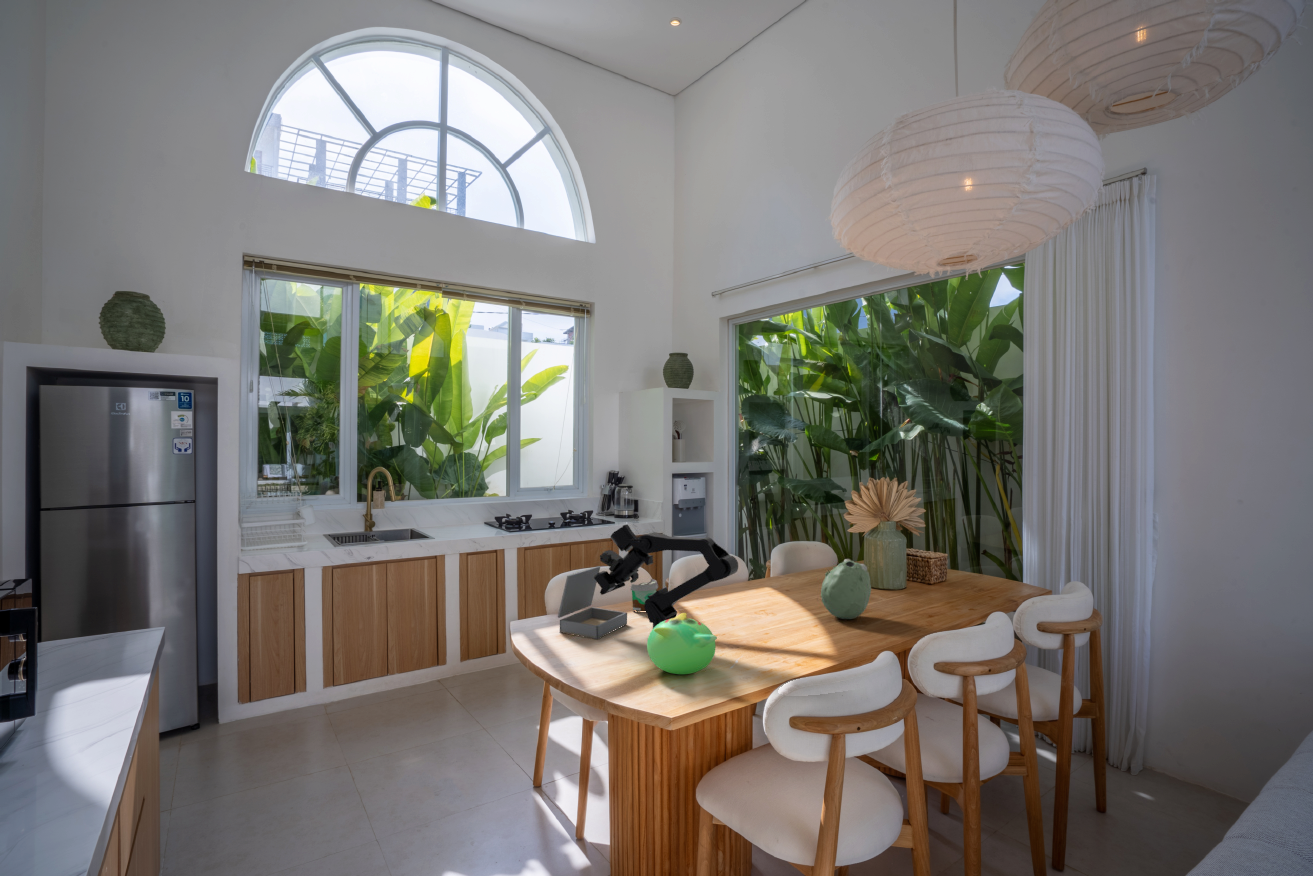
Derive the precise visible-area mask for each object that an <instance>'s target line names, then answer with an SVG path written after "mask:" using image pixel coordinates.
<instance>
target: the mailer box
mask: <svg viewBox="0 0 1313 876" xmlns="http://www.w3.org/2000/svg"><path fill="white" fill-rule="evenodd" d="M625 624H627V625H628V612H624V611H620V610H611V609H606V608H600V607H594V606H593V607H589V608H585V609H584V610H582V611H579V612H577V613H576V612H575V613H574V614H572V615H569V616H566V617H564V618H562V619H559V633H560V632H563V633H562V634H564V633H568V634H567V635H570V634H574V635H573V636H575V635H579V636H578V637H580V636H584V637H583V638H586V637H587V638H586V639H591V638H592V640H599V639H601V638H603V637H604V636H603V635H605V634H607V633H609V632H611V631H613V630H615V629H617V628H619V627H621V626H623V625H625ZM621 628H622V627H621ZM619 629H620V628H619ZM617 630H618V629H617ZM615 631H616V630H615ZM613 632H614V631H613ZM611 633H612V632H611ZM609 634H610V633H609ZM607 635H608V634H607ZM602 636H603V637H602ZM605 636H606V635H605ZM600 637H601V638H600Z"/></svg>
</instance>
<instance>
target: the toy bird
mask: <svg viewBox="0 0 1313 876" xmlns="http://www.w3.org/2000/svg"><path fill="white" fill-rule="evenodd" d="M716 640H717V635H714V634H713V632H712V630H711V629H710V628H709V626H707V625H706V624H704V623H703V622H701V621H700V620H696V619H694V618H690V617H687V613H686V612H681V613H680V614H678V615H676V617H675V618H671V619H668V620H665V621H662V622H661V623H659V624H658V625H656V626H655V627H654V628H653V627H652V629H651V631H650V632H649V635H648V638H647V643H646V650H647V653H648V657H649V659H650V660H651V662H652V663H653V665H655V666H656V667H657V668H659V669H660V670H662V671H664V672H667V673H668V674H669V673H670V674H674V675H688V674H689V675H690V674H694V673H697V672H699V671H702V670H703V669H705V668H706V667H707V666H708V665H710V663H711V662H712V660H713V659H714V656H715V652H716V649H717V648H716V645H717V644H716Z"/></svg>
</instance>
